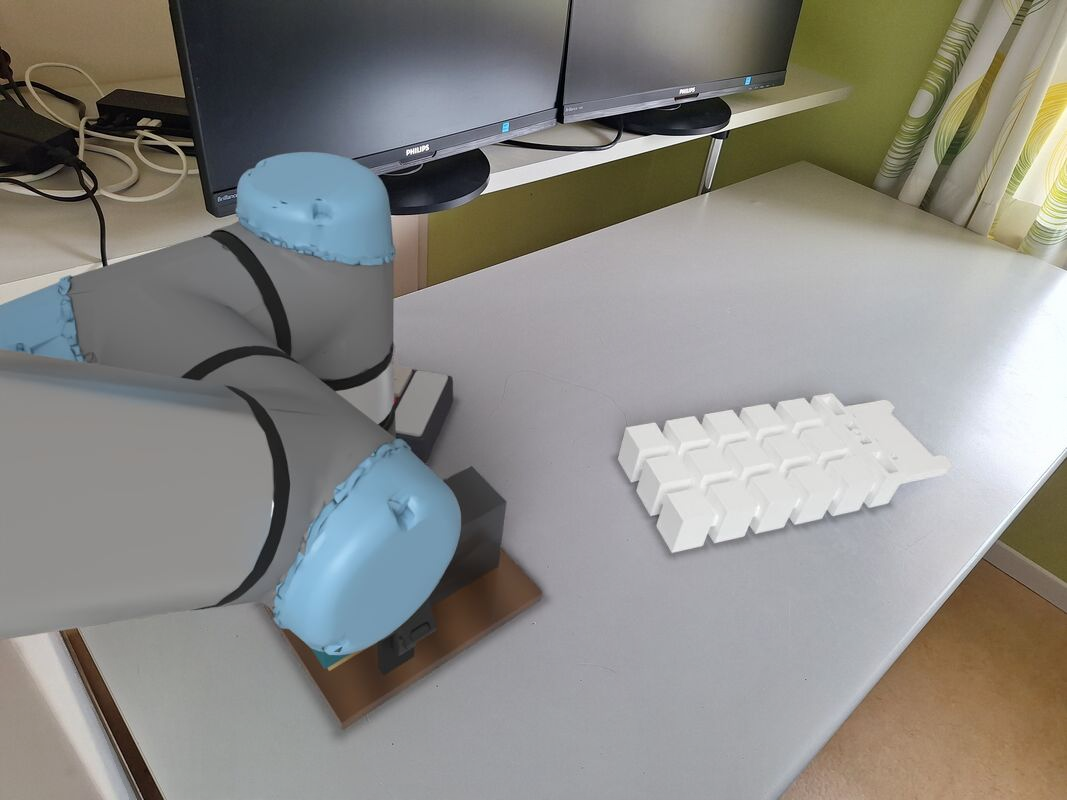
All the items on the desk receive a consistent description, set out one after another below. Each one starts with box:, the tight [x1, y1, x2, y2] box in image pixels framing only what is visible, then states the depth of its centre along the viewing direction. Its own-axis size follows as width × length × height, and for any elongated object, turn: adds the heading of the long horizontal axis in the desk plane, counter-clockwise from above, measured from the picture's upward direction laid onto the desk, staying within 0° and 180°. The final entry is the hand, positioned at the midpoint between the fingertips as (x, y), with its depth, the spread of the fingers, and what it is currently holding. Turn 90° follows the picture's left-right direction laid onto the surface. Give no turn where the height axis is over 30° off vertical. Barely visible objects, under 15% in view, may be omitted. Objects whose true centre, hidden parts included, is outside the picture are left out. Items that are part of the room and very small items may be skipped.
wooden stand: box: [262, 465, 543, 731], centre depth 64 cm, size 20×14×10 cm
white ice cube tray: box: [617, 392, 952, 554], centre depth 83 cm, size 13×5×35 cm
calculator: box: [393, 364, 454, 464], centre depth 83 cm, size 11×4×15 cm
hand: (351, 600), depth 62 cm, fingers open, 13 cm apart
